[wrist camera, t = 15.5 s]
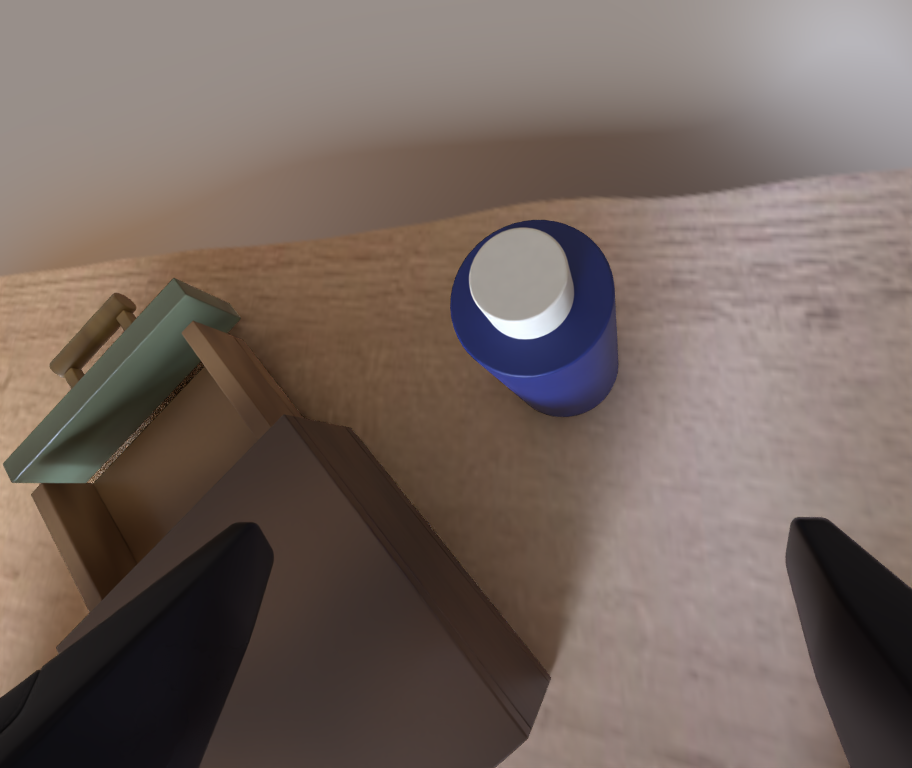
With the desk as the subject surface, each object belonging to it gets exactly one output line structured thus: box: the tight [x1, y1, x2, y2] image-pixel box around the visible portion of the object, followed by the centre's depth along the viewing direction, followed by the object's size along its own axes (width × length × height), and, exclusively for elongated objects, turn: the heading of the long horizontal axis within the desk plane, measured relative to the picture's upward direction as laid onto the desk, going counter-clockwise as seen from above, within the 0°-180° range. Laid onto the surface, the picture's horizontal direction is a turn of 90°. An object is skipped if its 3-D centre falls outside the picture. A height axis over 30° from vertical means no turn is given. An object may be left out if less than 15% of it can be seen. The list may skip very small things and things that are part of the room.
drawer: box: [3, 278, 303, 612], centre depth 25 cm, size 16×12×4 cm
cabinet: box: [56, 414, 551, 768], centre depth 21 cm, size 13×13×5 cm
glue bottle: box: [450, 220, 618, 417], centre depth 18 cm, size 4×4×10 cm
